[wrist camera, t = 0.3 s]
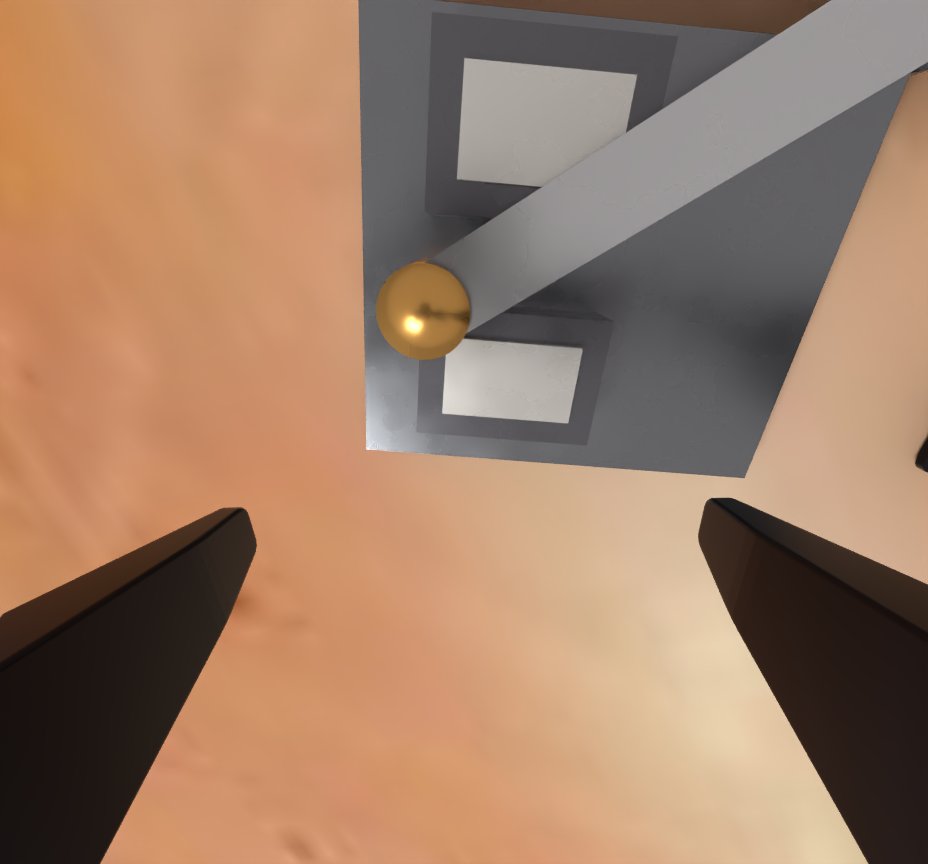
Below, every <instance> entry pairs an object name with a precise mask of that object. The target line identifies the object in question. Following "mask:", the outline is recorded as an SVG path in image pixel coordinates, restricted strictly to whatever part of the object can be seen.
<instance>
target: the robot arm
mask: <svg viewBox="0 0 928 864" xmlns="http://www.w3.org/2000/svg"><path fill="white" fill-rule="evenodd" d="M915 464H916V466H917V467H918V468H919V469H921V470H923V471H925V472H928V440H927V442H926V444H925V445H924V447H923V449H922V450H921V452H920V454H919V456H918V457H917V459H916V462H915ZM698 539H699V544H700V547H701V550H702V552H703V554H704V557H705V559H706V561H707V564H708V566H709V568H710V571H711V573H712V575H713V578H714V580H715V582H716V585H717V587H718V589H719V592H720V594H721V596H722V599H723V601H724V603H725V606H726V608H727V610H728V612H729V614H730V616H731V619H732V620H733V622H734V624H735V626H736V628H737V630H738V632H739V633H740V635H741V637H742V639H743V641H744V642H745V644H746V646H747V648H748V650H749V651H750V653H751V655H752V657H753V658H754V660H755V662H756V664H757V666H758V667H759V669H760V671H761V673H762V675H763V676H764V678H765V680H766V682H767V683H768V685H769V687H770V689H771V691H772V692H773V694H774V696H775V698H776V700H777V701H778V703H779V705H780V707H781V708H782V710H783V712H784V714H785V716H786V717H787V719H788V721H789V723H790V725H791V726H792V728H793V730H794V732H795V733H796V735H797V737H798V739H799V741H800V742H801V744H802V746H803V748H804V750H805V751H806V753H807V755H808V757H809V758H810V760H811V762H812V764H813V766H814V767H815V769H816V771H817V773H818V775H819V776H820V778H821V780H822V782H823V783H824V785H825V787H826V789H827V791H828V792H829V794H830V796H831V798H832V800H833V801H834V803H835V805H836V807H837V808H838V810H839V812H840V814H841V816H842V817H843V819H844V821H845V823H846V825H847V826H848V828H849V830H850V832H851V834H852V835H853V837H854V839H855V841H856V842H857V844H858V846H859V848H860V850H861V851H862V853H863V855H864V857H865V859H866V860H867V862H868V864H928V584H925V583H923V582H921V581H919V580H916V579H914V578H912V577H909V576H907V575H905V574H903V573H900V572H898V571H896V570H894V569H891V568H889V567H887V566H885V565H882V564H880V563H878V562H876V561H873V560H871V559H869V558H867V557H864V556H862V555H860V554H858V553H855V552H853V551H851V550H849V549H846V548H844V547H842V546H839V545H837V544H835V543H833V542H830V541H828V540H826V539H824V538H821V537H819V536H817V535H815V534H812V533H810V532H808V531H806V530H803V529H801V528H799V527H797V526H794V525H792V524H790V523H788V522H785V521H783V520H781V519H778V518H776V517H774V516H772V515H769V514H767V513H765V512H763V511H760V510H758V509H756V508H754V507H751V506H749V505H747V504H745V503H742V502H740V501H738V500H736V499H733V498H711V499H709V500H708V501H707V502H706V503H705V506H704V511H703V515H702V519H701V524H700V528H699V533H698ZM256 546H257V543H256V538H255V534H254V531H253V528H252V524H251V521H250V518H249V515H248V512H247V511H246V510H245V509H244V508H241V507H236V508H222V509H219V510H217V511H215V512H213V513H211V514H209V515H207V516H205V517H203V518H201V519H199V520H196V521H194V522H192V523H190V524H188V525H186V526H184V527H182V528H180V529H178V530H176V531H174V532H172V533H169V534H167V535H165V536H163V537H161V538H159V539H157V540H155V541H153V542H151V543H149V544H147V545H145V546H143V547H140V548H138V549H136V550H134V551H132V552H130V553H128V554H126V555H124V556H122V557H120V558H118V559H116V560H113V561H111V562H109V563H107V564H105V565H103V566H101V567H99V568H97V569H95V570H93V571H91V572H89V573H87V574H84V575H82V576H80V577H78V578H76V579H74V580H72V581H70V582H68V583H66V584H64V585H62V586H60V587H57V588H55V589H53V590H51V591H49V592H47V593H45V594H43V595H41V596H39V597H37V598H35V599H33V600H31V601H28V602H26V603H24V604H22V605H20V606H18V607H16V608H14V609H12V610H10V611H8V612H6V613H4V614H3V615H2V616H1V617H0V864H100V863H101V861H102V859H103V858H104V856H105V854H106V852H107V850H108V848H109V846H110V844H111V842H112V840H113V838H114V837H115V835H116V833H117V831H118V829H119V827H120V825H121V823H122V821H123V819H124V818H125V816H126V814H127V812H128V810H129V808H130V806H131V804H132V802H133V800H134V799H135V797H136V795H137V793H138V791H139V789H140V787H141V785H142V783H143V781H144V780H145V778H146V776H147V774H148V772H149V770H150V768H151V766H152V764H153V762H154V761H155V759H156V757H157V755H158V753H159V751H160V749H161V747H162V745H163V743H164V742H165V740H166V738H167V736H168V734H169V732H170V730H171V728H172V726H173V724H174V722H175V721H176V719H177V717H178V715H179V713H180V711H181V709H182V707H183V705H184V703H185V702H186V700H187V698H188V696H189V694H190V692H191V690H192V688H193V686H194V684H195V683H196V681H197V679H198V677H199V675H200V673H201V671H202V669H203V667H204V665H205V664H206V662H207V660H208V658H209V656H210V654H211V652H212V650H213V648H214V646H215V645H216V643H217V641H218V639H219V637H220V635H221V633H222V631H223V629H224V627H225V625H226V623H227V621H228V618H229V616H230V614H231V612H232V609H233V607H234V604H235V602H236V600H237V597H238V595H239V592H240V590H241V587H242V585H243V582H244V580H245V577H246V575H247V572H248V570H249V567H250V565H251V562H252V560H253V557H254V555H255V552H256Z"/></svg>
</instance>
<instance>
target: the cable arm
mask: <svg viewBox="0 0 928 864" xmlns="http://www.w3.org/2000/svg"><path fill="white" fill-rule="evenodd" d="M927 62H928V0H831V1H829V2H828V3H826V4H824V5H823V6H821V7H820V8H818V9H817V10H815V11H814V12H812V13H811V14H809V15H807V16H806V17H804V18H803V19H801V20H800V21H798V22H797V23H795V24H793V25H792V26H790V27H789V28H787V29H786V30H784V31H783V32H781V33H780V34H778V35H776V36H775V37H773V38H772V39H770V40H769V41H767V42H766V43H764V44H763V45H761V46H759V47H758V48H756V49H755V50H753V51H752V52H750V53H749V54H747V55H746V56H744V57H742V58H741V59H739V60H738V61H736V62H735V63H733V64H732V65H730V66H729V67H727V68H725V69H724V70H722V71H721V72H719V73H718V74H716V75H715V76H713V77H711V78H710V79H708V80H707V81H705V82H704V83H702V84H701V85H699V86H698V87H696V88H694V89H693V90H691V91H690V92H688V93H687V94H685V95H684V96H682V97H681V98H679V99H677V100H676V101H674V102H673V103H671V104H670V105H668V106H667V107H665V108H664V109H662V110H660V111H659V112H657V113H656V114H654V115H653V116H651V117H650V118H648V119H647V120H645V121H643V122H642V123H640V124H639V125H637V126H636V127H634V128H633V129H631V130H630V131H628V132H626V133H625V134H623V135H622V136H620V137H619V138H617V139H616V140H614V141H612V142H611V143H609V144H608V145H606V146H605V147H603V148H602V149H600V150H599V151H597V152H595V153H594V154H592V155H591V156H589V157H588V158H586V159H585V160H583V161H582V162H580V163H578V164H577V165H575V166H574V167H572V168H571V169H569V170H568V171H566V172H565V173H563V174H561V175H560V176H558V177H557V178H555V179H554V180H552V181H551V182H549V183H548V184H546V185H544V186H543V187H541V188H540V189H538V190H537V191H535V192H534V193H532V194H531V195H529V196H527V197H526V198H524V199H523V200H521V201H520V202H518V203H517V204H515V205H513V206H512V207H510V208H509V209H507V210H506V211H504V212H503V213H501V214H500V215H498V216H496V217H495V218H493V219H492V220H490V221H489V222H487V223H486V224H484V225H483V226H481V227H479V228H478V229H476V230H475V231H473V232H472V233H470V234H469V235H467V236H466V237H464V238H462V239H461V240H459V241H458V242H456V243H455V244H453V245H452V246H450V247H449V248H447V249H445V250H444V251H442V252H441V253H439V254H438V255H436V256H435V257H433V258H424V259H421V260H418V261H416V262H413V263H411V264H409V265H407V266H404V267H402V268H400V269H399V270H397V271H395V272H394V273H393V274H392V275H391V276H390V277H389V278H388V279H387V280H386V281H385V283H384V284H383V286H382V287H381V289H380V292H379V294H378V298H377V303H376V316H377V322H378V325H379V328H380V330H381V333H382V334H383V336H384V338H385V339H386V340H387V342H388V343H389V344H390V345H391V346H392V347H393V348H394V349H395V350H397V351H398V352H400V353H401V354H403V355H405V356H407V357H410V358H413V359H419V360H432V359H437V358H440V357H442V356H444V355H446V354H448V353H450V352H451V351H453V350H454V349H455V348H456V347H457V346H458V345H459V344H460V343H461V341H462V340H463V338H464V336H465V334H466V333H468V332H470V331H471V330H473V329H475V328H476V327H478V326H480V325H481V324H483V323H485V322H487V321H488V320H490V319H492V318H493V317H495V316H497V315H498V314H500V313H502V312H504V311H505V310H507V309H509V308H510V307H512V306H514V305H515V304H517V303H519V302H521V301H522V300H524V299H526V298H527V297H529V296H531V295H532V294H534V293H536V292H538V291H539V290H541V289H543V288H544V287H546V286H548V285H549V284H551V283H553V282H555V281H556V280H558V279H560V278H561V277H563V276H565V275H566V274H568V273H570V272H572V271H573V270H575V269H577V268H578V267H580V266H582V265H583V264H585V263H587V262H589V261H590V260H592V259H594V258H595V257H597V256H599V255H600V254H602V253H604V252H606V251H607V250H609V249H611V248H612V247H614V246H616V245H617V244H619V243H621V242H623V241H624V240H626V239H628V238H629V237H631V236H633V235H634V234H636V233H638V232H640V231H641V230H643V229H645V228H646V227H648V226H650V225H651V224H653V223H655V222H657V221H658V220H660V219H662V218H663V217H665V216H667V215H668V214H670V213H672V212H674V211H675V210H677V209H679V208H680V207H682V206H684V205H686V204H687V203H689V202H691V201H692V200H694V199H696V198H697V197H699V196H701V195H703V194H704V193H706V192H708V191H709V190H711V189H713V188H714V187H716V186H718V185H720V184H721V183H723V182H725V181H726V180H728V179H730V178H731V177H733V176H735V175H737V174H738V173H740V172H742V171H743V170H745V169H747V168H748V167H750V166H752V165H754V164H755V163H757V162H759V161H760V160H762V159H764V158H765V157H767V156H769V155H771V154H772V153H774V152H776V151H777V150H779V149H781V148H782V147H784V146H786V145H788V144H789V143H791V142H793V141H794V140H796V139H798V138H799V137H801V136H803V135H805V134H806V133H808V132H810V131H811V130H813V129H815V128H816V127H818V126H820V125H822V124H823V123H825V122H827V121H828V120H830V119H832V118H833V117H835V116H837V115H839V114H840V113H842V112H844V111H845V110H847V109H849V108H850V107H852V106H854V105H856V104H857V103H859V102H861V101H862V100H864V99H866V98H867V97H869V96H871V95H873V94H874V93H876V92H878V91H879V90H881V89H883V88H884V87H886V86H888V85H890V84H891V83H893V82H895V81H896V80H898V79H900V78H901V77H903V76H905V75H907V74H908V73H910V72H912V71H913V70H915V69H917V68H918V67H920V66H922V65H924V64H925V63H927Z"/></svg>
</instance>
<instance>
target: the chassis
mask: <svg viewBox="0 0 928 864" xmlns="http://www.w3.org/2000/svg"><path fill="white" fill-rule="evenodd" d="M776 35H778V34H768V33H758V32H748V31H738V30H728V29H718V28H708V27H698V26H688V25H678V24H668V23H658V22H648V21H638V20H628V19H618V18H608V17H598V16H588V15H578V14H568V13H558V12H548V11H537V10H527V9H517V8H507V7H497V6H487V5H477V4H467V3H457V2H447V1H437V0H359V54H360V110H361V166H362V222H363V278H364V334H365V390H366V446H367V449H370V450H383V451H396V452H409V453H422V454H435V455H449V456H462V457H475V458H488V459H501V460H514V461H527V462H541V463H554V464H567V465H580V466H593V467H606V468H619V469H633V470H646V471H659V472H672V473H685V474H698V475H711V476H725V477H738V478H745V475H746V473H747V470H748V468H749V466H750V463H751V461H752V458H753V456H754V453H755V451H756V449H757V446H758V444H759V441H760V439H761V436H762V434H763V431H764V429H765V427H766V424H767V422H768V419H769V417H770V414H771V412H772V410H773V407H774V405H775V402H776V400H777V397H778V395H779V392H780V390H781V388H782V385H783V383H784V380H785V378H786V375H787V373H788V371H789V368H790V366H791V363H792V361H793V358H794V356H795V353H796V351H797V349H798V346H799V344H800V341H801V339H802V336H803V334H804V332H805V329H806V327H807V324H808V322H809V319H810V317H811V315H812V312H813V310H814V307H815V305H816V302H817V300H818V297H819V295H820V293H821V290H822V288H823V285H824V283H825V280H826V278H827V276H828V273H829V271H830V268H831V266H832V263H833V261H834V258H835V256H836V254H837V251H838V249H839V246H840V244H841V241H842V239H843V237H844V234H845V232H846V229H847V227H848V224H849V222H850V219H851V217H852V215H853V212H854V210H855V207H856V205H857V202H858V200H859V198H860V195H861V193H862V190H863V188H864V185H865V183H866V180H867V178H868V176H869V173H870V171H871V168H872V166H873V163H874V161H875V159H876V156H877V154H878V151H879V149H880V146H881V144H882V141H883V139H884V137H885V134H886V132H887V129H888V127H889V124H890V122H891V120H892V117H893V115H894V112H895V110H896V107H897V105H898V102H899V100H900V98H901V95H902V93H903V90H904V88H905V85H906V83H907V81H908V78H909V76H910V73H911V72H910V73H908V74H907V75H905V76H903V77H901V78H900V79H898V80H896V81H895V82H893V83H891V84H890V85H888V86H886V87H884V88H883V89H881V90H879V91H878V92H876V93H874V94H873V95H871V96H869V97H867V98H866V99H864V100H862V101H861V102H859V103H857V104H856V105H854V106H852V107H850V108H849V109H847V110H845V111H844V112H842V113H840V114H839V115H837V116H835V117H833V118H832V119H830V120H828V121H827V122H825V123H823V124H822V125H820V126H818V127H816V128H815V129H813V130H811V131H810V132H808V133H806V134H805V135H803V136H801V137H799V138H798V139H796V140H794V141H793V142H791V143H789V144H788V145H786V146H784V147H782V148H781V149H779V150H777V151H776V152H774V153H772V154H771V155H769V156H767V157H765V158H764V159H762V160H760V161H759V162H757V163H755V164H754V165H752V166H750V167H748V168H747V169H745V170H743V171H742V172H740V173H738V174H737V175H735V176H733V177H731V178H730V179H728V180H726V181H725V182H723V183H721V184H720V185H718V186H716V187H714V188H713V189H711V190H709V191H708V192H706V193H704V194H703V195H701V196H699V197H697V198H696V199H694V200H692V201H691V202H689V203H687V204H686V205H684V206H682V207H680V208H679V209H677V210H675V211H674V212H672V213H670V214H668V215H667V216H665V217H663V218H662V219H660V220H658V221H657V222H655V223H653V224H651V225H650V226H648V227H646V228H645V229H643V230H641V231H640V232H638V233H636V234H634V235H633V236H631V237H629V238H628V239H626V240H624V241H623V242H621V243H619V244H617V245H616V246H614V247H612V248H611V249H609V250H607V251H606V252H604V253H602V254H600V255H599V256H597V257H595V258H594V259H592V260H590V261H589V262H587V263H585V264H583V265H582V266H580V267H578V268H577V269H575V270H573V271H572V272H570V273H568V274H566V275H565V276H563V277H561V278H560V279H558V280H556V281H555V282H553V283H551V284H549V285H548V286H546V287H544V288H543V289H541V290H539V291H538V292H536V293H534V294H532V295H531V296H529V297H527V298H526V299H524V300H522V301H521V302H519V303H517V304H515V305H514V306H512V307H510V308H509V309H507V310H505V311H504V312H502V313H500V314H498V315H497V316H495V317H493V318H492V319H490V320H488V321H487V322H485V323H483V324H481V325H480V326H478V327H476V328H475V329H473V330H471V331H470V332H468V333H466V334H465V336H464V338H463V340H462V341H461V343H460V344H459V345H458V346H457V347H456V348H455V349H454V350H453V351H451V352H450V353H448V354H446V355H444V356H442V357H440V358H437V359H432V360H419V359H413V358H410V357H407V356H405V355H403V354H401V353H400V352H398V351H397V350H395V349H394V348H393V347H392V346H391V345H390V344H389V343H388V342H387V340H386V339H385V338H384V336H383V334H382V333H381V330H380V328H379V325H378V322H377V316H376V303H377V298H378V294H379V292H380V289H381V287H382V286H383V284H384V283H385V281H386V280H387V279H388V278H389V277H390V276H391V275H392V274H393V273H394V272H395V271H397V270H399V269H400V268H402V267H404V266H407V265H409V264H411V263H413V262H416V261H418V260H421V259H424V258H433V257H435V256H436V255H438V254H439V253H441V252H442V251H444V250H445V249H447V248H449V247H450V246H452V245H453V244H455V243H456V242H458V241H459V240H461V239H462V238H464V237H466V236H467V235H469V234H470V233H472V232H473V231H475V230H476V229H478V228H479V227H481V226H483V225H484V224H486V223H487V222H489V221H490V220H492V219H493V218H495V217H496V216H498V215H500V214H501V213H503V212H504V211H506V210H507V209H509V208H510V207H512V206H513V205H515V204H517V203H518V202H520V201H521V200H523V199H524V198H526V197H527V196H529V195H531V194H532V193H534V192H535V191H537V190H538V189H540V188H541V187H543V186H544V185H546V184H548V183H549V182H551V181H552V180H554V179H555V178H557V177H558V176H560V175H561V174H563V173H565V172H566V171H568V170H569V169H571V168H572V167H574V166H575V165H577V164H578V163H580V162H582V161H583V160H585V159H586V158H588V157H589V156H591V155H592V154H594V153H595V152H597V151H599V150H600V149H602V148H603V147H605V146H606V145H608V144H609V143H611V142H612V141H614V140H616V139H617V138H619V137H620V136H622V135H623V134H625V133H626V132H628V131H630V130H631V129H633V128H634V127H636V126H637V125H639V124H640V123H642V122H643V121H645V120H647V119H648V118H650V117H651V116H653V115H654V114H656V113H657V112H659V111H660V110H662V109H664V108H665V107H667V106H668V105H670V104H671V103H673V102H674V101H676V100H677V99H679V98H681V97H682V96H684V95H685V94H687V93H688V92H690V91H691V90H693V89H694V88H696V87H698V86H699V85H701V84H702V83H704V82H705V81H707V80H708V79H710V78H711V77H713V76H715V75H716V74H718V73H719V72H721V71H722V70H724V69H725V68H727V67H729V66H730V65H732V64H733V63H735V62H736V61H738V60H739V59H741V58H742V57H744V56H746V55H747V54H749V53H750V52H752V51H753V50H755V49H756V48H758V47H759V46H761V45H763V44H764V43H766V42H767V41H769V40H770V39H772V38H773V37H775V36H776Z"/></svg>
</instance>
